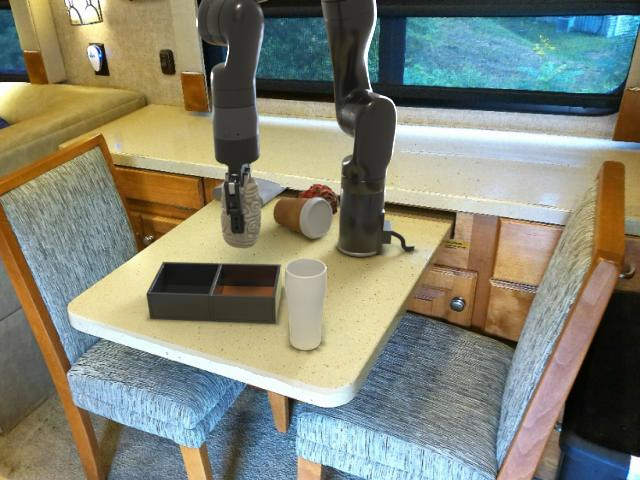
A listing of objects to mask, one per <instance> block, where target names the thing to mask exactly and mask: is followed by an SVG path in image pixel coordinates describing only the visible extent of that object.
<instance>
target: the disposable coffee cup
mask: <svg viewBox="0 0 640 480" xmlns="http://www.w3.org/2000/svg"><path fill="white" fill-rule="evenodd" d="M272 214H273V220H274V221H275V223H276V224H277V225H279V226H282V227H284V228H287V229H290V230H292V231H295V232H297V233H300V234H302V235H304V236H305V237H307V238H308V239H311V240H315V239H320V238H321V237H324V236H325V235H326V234H327V233H328V232H329V230H330V228H331V226H332V223H333V218H334V215H333V212H332V208H331V205H330V204H329V203H328V202H327V201H326V200H325V199H323V198H322V197H314V198H310V199H309V198H308V199H307V198H306V199H305V198H304V199H303V198H302V199H297V198H281V199H279V200H277V202H276V203H275V205H274V207H273V211H272Z"/></svg>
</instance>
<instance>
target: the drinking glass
mask: <svg viewBox="0 0 640 480" xmlns="http://www.w3.org/2000/svg"><path fill="white" fill-rule="evenodd" d="M284 267H285V268H284V292H285V300H286V301H285V302H286V310H287V318H288V319H287V320H288V328H289V329H288V330H289V343H290V345H291V346H292V347H294V348H295V349H297V350H300V351H312V350H314V349H316V348H317V347H319V345H320V344H321V342H322V329H323V320H324V313H325V305H326V295H327V286H328V272H327V271H328V270H327V265H326V263H325V262H323V261H322V260H320V259H317V258H314V257H299V258H295V259H292V260H290V261H289V262H287V264H286V265H285V266H284Z"/></svg>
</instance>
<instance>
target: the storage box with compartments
mask: <svg viewBox="0 0 640 480" xmlns="http://www.w3.org/2000/svg"><path fill="white" fill-rule="evenodd" d="M282 275H283V274H282V264H277V263H276V264H274V263H272V264H271V263H235V262H234V263H233V262H231V263H230V262H187V261H186V262H185V261H184V262H183V261H182V262H181V261H162V263H161V264H160V267H159V268H158V270H157V272H156V274H155V275H154V278H153V279H152V282H151V283H150V286H149V287H148V289H147V291H146V295H145V296H146V301H147V307H148V315H149V319H150V320H170V321H193V322H195V321H196V322H219V323H220V322H223V323H245V324H246V323H247V324H248V323H249V324H272V325H273V324H274V325H276V324H277V320H278V314H279V309H280V302H281V296H282V291H283V290H282V289H283V277H282Z"/></svg>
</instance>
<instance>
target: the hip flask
mask: <svg viewBox="0 0 640 480" xmlns="http://www.w3.org/2000/svg"><path fill="white" fill-rule="evenodd" d="M252 178H254V179H255V180H256V181H257V183H258V185H259V193H260V203H261V208H262V207H263V206H265V205H266V204H268V203H269V202H271V201H272V200H273V199H275V198H276V197H277V196H279V195H280V194H281V193H283V192H284V191H285V190H287V189H288V188H282V187H281V186H280V184H278V183H275V182H272V181H269V180H265V179H261V178H255V177H252ZM222 184H223V182H222V183H220V184H218V185H217V186H215V187H214V188H212V190H211V196H212V197H213V198H214V199H215V200H221V198H222Z"/></svg>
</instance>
